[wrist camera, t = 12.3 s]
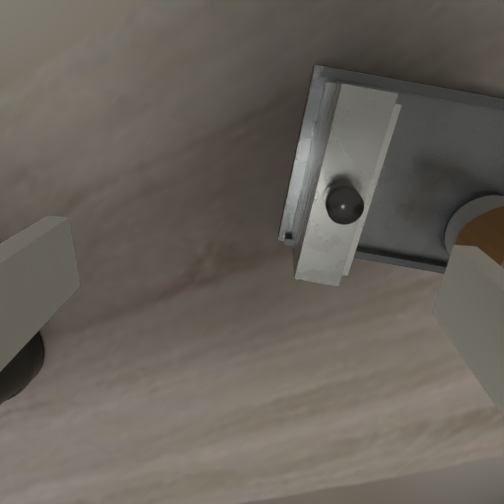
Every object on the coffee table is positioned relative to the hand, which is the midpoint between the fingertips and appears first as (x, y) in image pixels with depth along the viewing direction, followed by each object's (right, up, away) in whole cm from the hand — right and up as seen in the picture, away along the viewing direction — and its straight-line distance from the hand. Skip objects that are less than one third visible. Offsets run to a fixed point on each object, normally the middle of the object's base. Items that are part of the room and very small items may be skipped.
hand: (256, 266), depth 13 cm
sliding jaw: (+6, +7, +16) cm, 19 cm away
